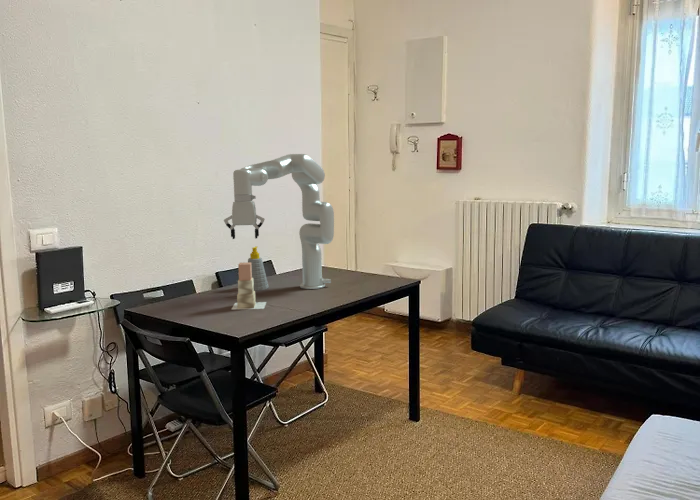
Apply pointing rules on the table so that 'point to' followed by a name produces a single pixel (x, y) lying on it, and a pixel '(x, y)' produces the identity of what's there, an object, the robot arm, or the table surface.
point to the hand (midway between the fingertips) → (245, 238)
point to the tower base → (246, 300)
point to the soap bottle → (258, 271)
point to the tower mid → (246, 287)
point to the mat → (258, 306)
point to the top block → (245, 271)
